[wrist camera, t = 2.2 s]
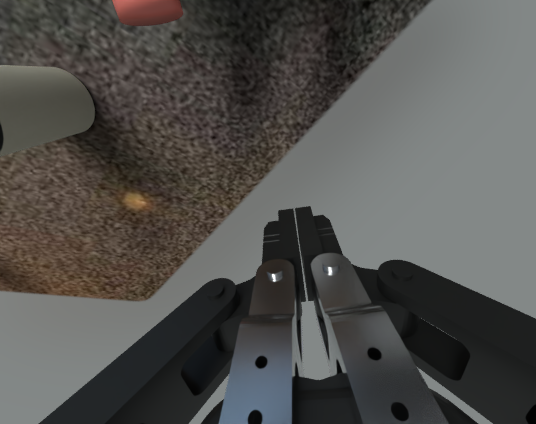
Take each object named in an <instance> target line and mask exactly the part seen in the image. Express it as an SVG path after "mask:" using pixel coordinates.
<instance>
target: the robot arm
mask: <svg viewBox="0 0 536 424" xmlns="http://www.w3.org/2000/svg"><path fill="white" fill-rule="evenodd" d="M295 211H296V219H297V227H298V235H299V243H300V250H301V256H302V263H303V268H304V275H305V282H306V288H307V295H308V301H314V305H315V311H316V319H317V323H318V327H319V331H320V335H321V339H322V343H323V346H324V350H325V354H326V358H327V361H328V366H329V370H330V376H331V377H328V378H325V379H323V380H314V379H309V378H304V369H303V342H302V319H301V316H302V305H301V302H305V301H306V298H305V290H304V282H303V274H302V266H301V259H300V252H299V245H298V238H297V231H296V224H295V218H294V211H293V209H286V210H279V211H278V214H279V215H278V216H279V221H272V222H268V224H267V225H266V227H265V228H264V239H263V242H264V243H263V257H262V265H261V266H260V267H259V268H258V270H257V272H256V276H255V277H253V278H252V279H250V280H248V281H246V282H243V283H241V284H238V285H235V284H234V283H233V281H231V280H229V279H226V278H219V279H215V280H212V281H210V282H208V283H206V284H205V285H204V286H202V287H201V288H200V289H199V290H198V291H196V292H195V293H194V294H193V295H192V296H191V297H189V298H188V299H187V300H186V301H185V302H183V303H182V304H181V305H180V306H179V307H177V308H176V309H175V310H174V311H173V312H171V313H170V314H169V315H168V316H167V317H165V318H164V319H163V320H162V321H161V322H160V323H158V324H157V325H156V326H155V327H153V328H152V329H151V330H150V331H149V332H147V333H146V334H145V335H144V336H143V337H142V338H140V339H139V340H138V341H137V342H136V343H134V344H133V345H132V346H131V347H130V348H128V349H127V350H126V351H125V352H124V353H123V354H121V355H120V356H119V357H118V358H117V359H115V360H114V361H113V362H112V363H111V364H109V365H108V366H107V367H106V368H105V369H104V370H102V371H101V372H100V373H99V374H97V375H96V376H95V377H94V378H93V379H91V380H90V381H89V382H88V383H87V384H85V385H84V386H83V387H82V388H81V389H80V390H78V391H77V392H76V393H75V394H74V395H72V396H71V397H70V398H69V399H68V400H66V401H65V402H64V403H63V404H62V405H61V406H59V407H58V408H57V409H56V410H55V411H53V412H52V413H51V414H50V415H49V416H47V417H46V418H45V419H44V420H43V421H41V422H40V423H39V424H189V422H190V421H191V420H192V419H193V417H194V416H195V415H196V414H197V413H198V411H199V410H200V409H201V407H202V406H203V405H204V404H205V403H206V401H207V400H208V399H209V398H210V397H211V395H212V394H213V393H214V392H215V390H216V389H217V388H218V387H219V385H220V384H221V383H222V382H223V381H224V379H225V378H226V377H227V376H228V374H229V378H228V383H227V387H226V392H225V397H224V399H223V400H222V401H221V402H220V403H219V404H217V405H216V406H215V407H214V408H213V410H212V411H211V412H210V413H209V414H208V415H207V416H206V418H205V419H204V420H203V422H202V423H201V424H478V423H477V422H475V421H474V420H473V419H472V418H470V417H469V416H468V415H467V414H465V413H464V412H463V411H462V410H460V409H459V408H458V407H457V406H455V405H454V404H453V403H451V402H450V401H449V400H447V399H446V398H444V397H443V396H441V395H440V394H438V393H437V392H435V391H433V390H431V389H429V388H428V386H427V384H426V382H425V381H424V379H423V377H422V375H421V373H420V372H419V370H418V368H419V369H421V370H422V371H424V372H425V373H426V374H427V375H429V376H430V377H432V378H433V379H434V380H436V381H437V382H438V383H440V384H441V385H442V386H444V387H445V388H446V389H448V390H449V391H450V392H452V393H453V394H454V395H456V396H457V397H458V398H460V399H461V400H462V401H464V402H465V403H466V404H468V405H469V406H470V407H472V408H473V409H475V410H476V411H477V412H478V413H480V414H481V415H483V416H484V417H485V418H486V419H488V420H489V421H490V422H492V423H493V424H536V319H535V318H533V317H531V316H529V315H526V314H524V313H522V312H520V311H518V310H515V309H513V308H511V307H509V306H506V305H504V304H502V303H500V302H497V301H495V300H493V299H491V298H489V297H486V296H484V295H482V294H480V293H478V292H475V291H473V290H470V289H469V288H466V287H464V286H462V285H460V284H458V283H455V282H453V281H451V280H449V279H446V278H444V277H442V276H439V275H437V274H435V273H433V272H431V271H429V270H426V269H424V268H422V267H420V266H417V265H415V264H413V263H411V262H407V261H403V260H390V261H386V262H384V263H383V264H381V265H380V267H379V269H378V270H373V269H365V268H360V267H357V266H354V265H353V264H351V262H350V261H349V260H348V259H347V258H346V257H345V256H343V254H342V251H341V248H340V246H339V243H338V241H337V238H336V235H335V233H334V230H333V228H332V225H331V222H330V220H329V219H328V218H326V217H325V216H324V215H318V216H313V214H312V210H311V207H310V206H308V207H301V208H295ZM421 318H422V319H421ZM423 319H424V320H423ZM426 321H427V322H426ZM428 322H429V323H428ZM431 324H432V325H431ZM433 325H434V326H433ZM436 327H437V328H436ZM438 328H439V329H438ZM441 330H442V331H441ZM443 331H444V332H443ZM446 333H447V334H446ZM448 334H449V335H448ZM451 336H452V337H451ZM453 337H454V338H453ZM456 339H457V340H456ZM458 340H459V341H458ZM417 367H418V368H417Z"/></svg>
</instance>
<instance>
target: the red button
mask: <svg viewBox="0 0 536 424" xmlns="http://www.w3.org/2000/svg"><path fill="white" fill-rule="evenodd" d="M112 1H113V4H114V6H115V9H116V12H117V14H118V17H119V20H120V22H121V23H123V24H126V25H132V26H149V25H158V24H163V23H168V22H171V21H174V20H176V19H179V18H180V17H182V15H183V11H182V7H181V3H180V0H112Z"/></svg>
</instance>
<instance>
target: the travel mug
mask: <svg viewBox="0 0 536 424" xmlns="http://www.w3.org/2000/svg"><path fill="white" fill-rule="evenodd" d="M94 118H95V108H94V103H93V100H92V98H91V96H90V94H89V92H88V90H87V89H86V88H85V86H84V85H83V84H82V83H81V82H80V81H79V80H78V79H77V78H76V77H75V76H73V75H72V74H70V73H69V72H67V71H65V70H62V69H59V68H55V67H35V66H9V65H0V157H1V156H4V155H7V154H11V153H14V152H17V151H21V150H24V149H27V148H31V147H34V146H37V145H41V144H44V143H48V142H51V141H54V140H58V139H61V138H64V137H68V136H71V135H74V134H78V133H81V132H84V131H86V130H87V129H89V128H90V127H91V125H92V124H93V121H94Z"/></svg>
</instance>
